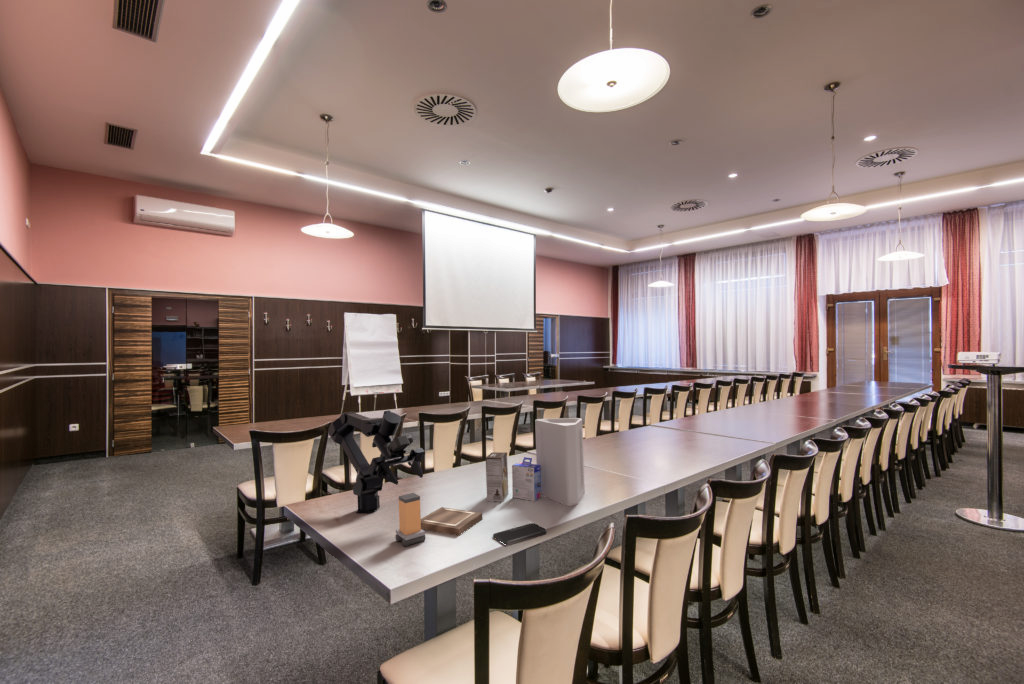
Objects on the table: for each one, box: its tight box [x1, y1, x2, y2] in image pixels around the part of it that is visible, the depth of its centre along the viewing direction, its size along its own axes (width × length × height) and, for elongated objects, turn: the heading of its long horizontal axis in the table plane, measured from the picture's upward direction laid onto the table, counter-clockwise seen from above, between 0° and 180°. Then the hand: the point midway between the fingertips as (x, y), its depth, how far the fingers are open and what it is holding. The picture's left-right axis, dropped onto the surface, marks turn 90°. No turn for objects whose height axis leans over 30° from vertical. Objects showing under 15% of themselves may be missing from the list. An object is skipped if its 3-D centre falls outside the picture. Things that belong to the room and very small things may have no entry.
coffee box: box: [485, 451, 509, 503], centre depth 169 cm, size 9×6×16 cm
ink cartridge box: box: [511, 456, 542, 502], centre depth 168 cm, size 10×6×14 cm, turn 58°
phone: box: [492, 522, 548, 546], centre depth 134 cm, size 8×1×15 cm
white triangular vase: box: [534, 417, 586, 507], centre depth 169 cm, size 19×15×28 cm
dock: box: [421, 506, 483, 536], centre depth 144 cm, size 16×14×2 cm
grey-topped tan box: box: [394, 492, 426, 547], centre depth 132 cm, size 7×6×13 cm
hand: (410, 480), depth 142 cm, fingers open, 9 cm apart
